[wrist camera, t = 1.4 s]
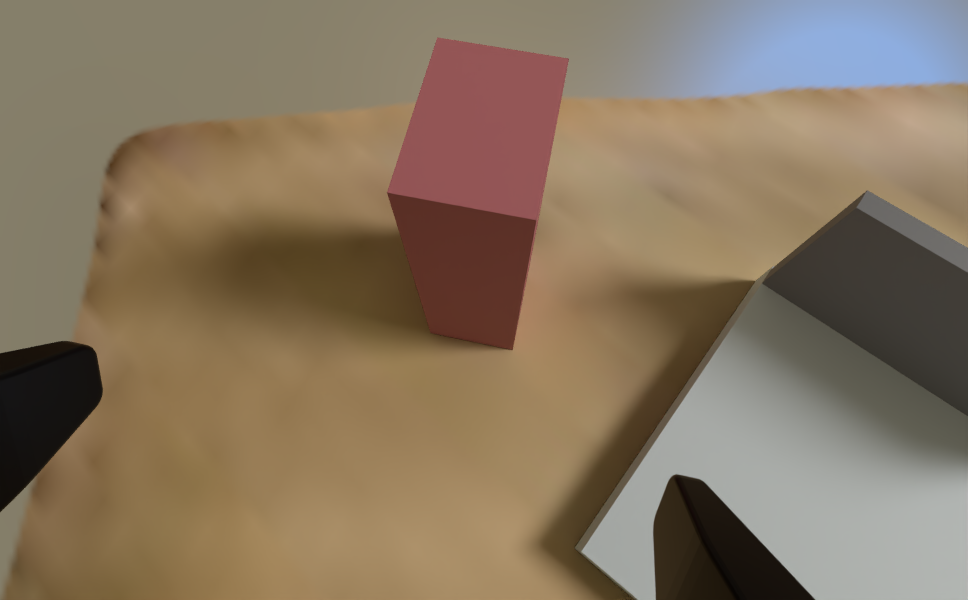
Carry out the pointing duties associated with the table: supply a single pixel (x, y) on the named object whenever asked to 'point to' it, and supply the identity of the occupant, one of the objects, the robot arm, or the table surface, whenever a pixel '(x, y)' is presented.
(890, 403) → the shelf
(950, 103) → the table surface
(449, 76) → the tall pink rectangular prism
